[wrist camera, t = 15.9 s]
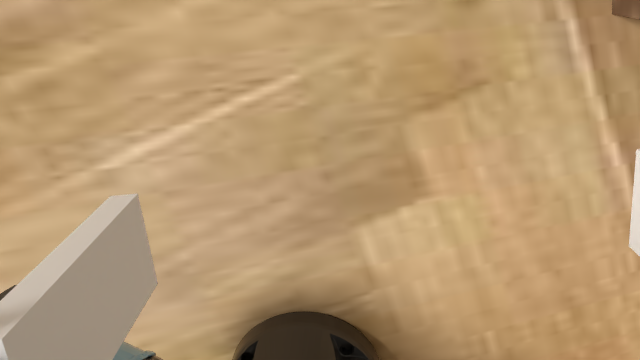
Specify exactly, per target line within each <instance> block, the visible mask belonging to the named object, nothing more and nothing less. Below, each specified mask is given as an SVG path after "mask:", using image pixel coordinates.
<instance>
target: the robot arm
mask: <svg viewBox="0 0 640 360" xmlns="http://www.w3.org/2000/svg"><path fill="white" fill-rule="evenodd" d="M629 247H630V248H631V249H632V250H633V251H635V252H636V253H637V254H638V255H639V256H640V149H637V151H636V163H635V176H634V188H633V201H632V213H631V226H630V238H629ZM157 284H158V282H157V278H156V273H155V269H154V264H153V260H152V255H151V251H150V246H149V242H148V237H147V233H146V228H145V224H144V219H143V215H142V211H141V206H140V202H139V197H138V194H128V195H117V196H110V197H109V198H108V199H107V200H106V201H105V202H104V203H102V204H101V205H100V206H99V207H98V208H97V209H96V210H95V211H94V212H93V213H92V214H91V215H90V216H89V217H88V218H87V219H86V220H85V221H84V222H83V223H81V224H80V225H79V226H78V227H77V228H76V229H75V230H74V231H73V232H72V233H71V234H70V235H69V236H68V237H67V238H66V239H65V240H64V241H63V242H62V243H60V244H59V245H58V246H57V247H56V248H55V249H54V250H53V251H52V252H51V253H50V254H49V255H48V256H47V257H46V258H45V259H44V260H43V261H42V262H41V263H39V264H38V265H37V266H36V267H35V268H34V269H33V270H32V271H31V272H30V273H29V274H28V275H27V276H26V277H25V278H24V279H23V280H22V281H21V282H20V283H18V284H17V285H14V286H13V287H11V288H9V289H8V290H6V291H4V292H2V293H1V294H0V360H163V359H161V358H159V357H157V356H156V353H154V352H152V351H143V350H141V349H139V348H137V347H134V346H132V345H130V344H128V343H126V342H124V339H125V338H126V336H127V334H128V333H129V331H130V329H131V328H132V326H133V324H134V322H135V321H136V319H137V317H138V316H139V314H140V312H141V311H142V309H143V307H144V306H145V304H146V302H147V301H148V299H149V297H150V296H151V294H152V292H153V290H154V289H155V287H156V285H157ZM232 360H379V358H378V355H377V353H376V351H375V349H374V348H373V346H372V345H371V343H370V342H369V341H368V340H367V338H366V337H365V336H364V335H363V334H362V333H360V332H359V331H358V330H357V329H356V328H354V327H353V326H351V325H350V324H348V323H346V322H344V321H342V320H340V319H337V318H335V317H332V316H329V315H325V314H320V313H314V312H293V313H286V314H282V315H278V316H275V317H272V318H270V319H268V320H265V321H264V322H262V323H260V324H258V325H257V326H256V327H254V328H253V329H252V330H250V331H249V332H248V333H247V334H246V335H245V337H244V338H243V339H242V340H241V342H240V343H239V345H238V347H237V349H236V351H235V353H234V356H233V359H232Z"/></svg>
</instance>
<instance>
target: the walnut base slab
mask: <svg viewBox="0 0 640 360" xmlns="http://www.w3.org/2000/svg"><path fill="white" fill-rule="evenodd" d="M612 14H613V15H618V16H624V17H630V18H635V19H640V0H612Z"/></svg>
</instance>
